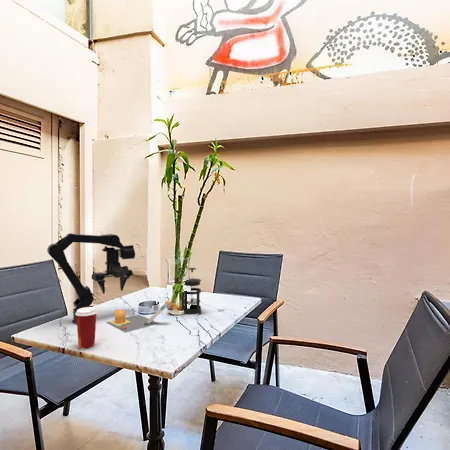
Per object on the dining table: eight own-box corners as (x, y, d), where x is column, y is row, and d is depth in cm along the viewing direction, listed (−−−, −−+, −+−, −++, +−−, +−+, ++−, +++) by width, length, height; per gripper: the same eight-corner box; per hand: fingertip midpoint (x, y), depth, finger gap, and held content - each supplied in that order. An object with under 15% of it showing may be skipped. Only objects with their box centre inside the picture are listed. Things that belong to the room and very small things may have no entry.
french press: (193, 309, 179) (193, 265, 178) (206, 312, 173) (206, 267, 172) (176, 314, 170) (176, 268, 169) (189, 318, 164) (189, 270, 163)
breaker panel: (125, 334, 142) (125, 331, 142) (105, 324, 154) (105, 321, 154) (159, 325, 154) (159, 322, 154) (138, 316, 166) (138, 313, 166)
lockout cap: (117, 324, 151) (117, 312, 151) (113, 321, 154) (113, 310, 154) (126, 321, 154) (126, 310, 154) (122, 319, 157) (122, 308, 157)
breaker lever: (146, 321, 152) (163, 304, 151) (148, 319, 155) (165, 303, 154) (148, 324, 152) (165, 307, 151) (151, 321, 155) (168, 305, 154)
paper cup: (101, 343, 132) (101, 307, 131) (87, 351, 124) (87, 313, 124) (85, 340, 134) (85, 305, 134) (70, 348, 127) (70, 311, 126)
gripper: (101, 264, 152) (101, 298, 153) (138, 260, 165) (138, 291, 166) (90, 261, 160) (91, 294, 161) (127, 257, 173) (127, 288, 174)
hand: (112, 292), depth 165 cm, fingers open, 9 cm apart
